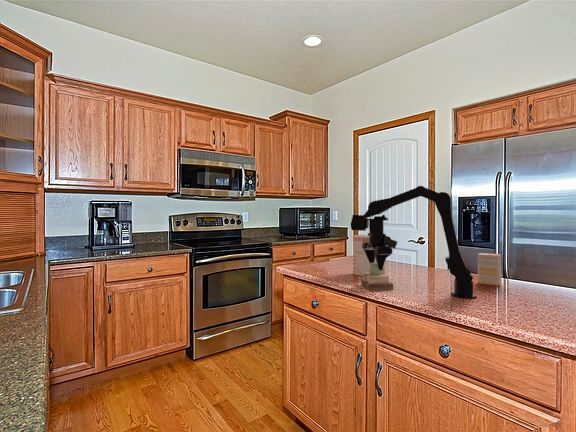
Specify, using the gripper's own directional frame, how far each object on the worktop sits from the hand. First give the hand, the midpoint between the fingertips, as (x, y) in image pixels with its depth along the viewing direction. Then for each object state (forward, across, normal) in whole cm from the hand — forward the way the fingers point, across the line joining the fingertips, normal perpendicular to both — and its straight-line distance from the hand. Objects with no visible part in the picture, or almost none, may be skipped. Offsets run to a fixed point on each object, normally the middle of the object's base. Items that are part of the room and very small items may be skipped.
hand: (376, 268), depth 140 cm
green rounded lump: (+3, 0, 0) cm, 3 cm away
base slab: (+9, 0, 0) cm, 9 cm away
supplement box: (+8, -2, -50) cm, 51 cm away
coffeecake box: (+8, +22, -5) cm, 24 cm away
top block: (+6, 0, 0) cm, 6 cm away
